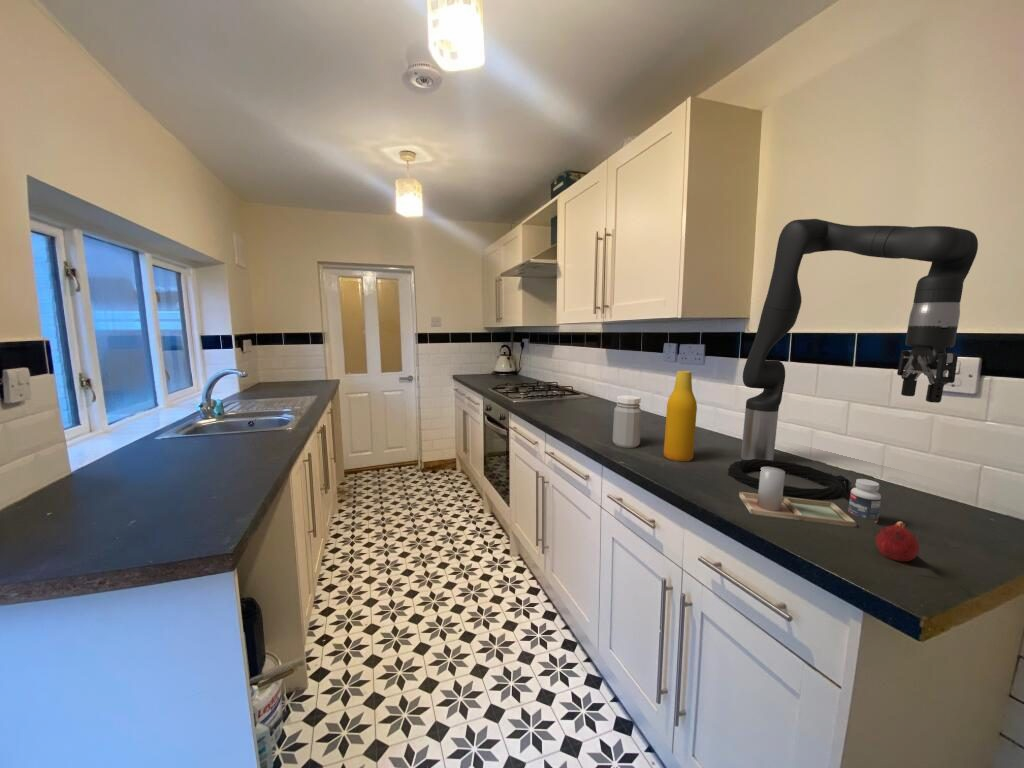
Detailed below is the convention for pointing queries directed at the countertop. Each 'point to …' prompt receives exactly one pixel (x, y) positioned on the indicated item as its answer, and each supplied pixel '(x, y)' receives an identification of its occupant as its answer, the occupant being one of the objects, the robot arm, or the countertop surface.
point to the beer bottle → (681, 420)
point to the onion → (897, 543)
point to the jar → (627, 421)
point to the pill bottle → (865, 499)
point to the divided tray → (801, 510)
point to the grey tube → (771, 488)
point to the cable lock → (834, 483)
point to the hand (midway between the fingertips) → (919, 398)
